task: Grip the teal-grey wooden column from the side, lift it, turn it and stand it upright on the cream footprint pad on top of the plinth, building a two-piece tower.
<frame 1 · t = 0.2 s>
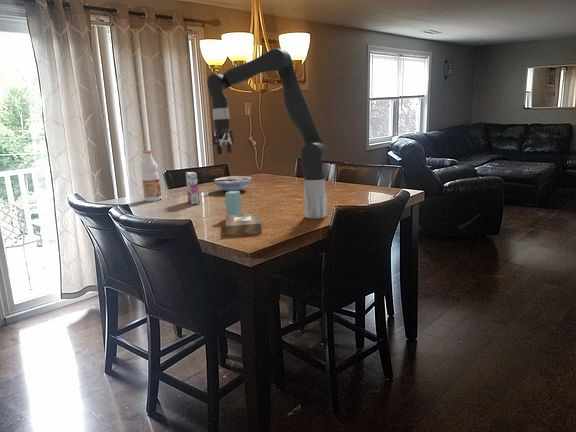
hand: (224, 153, 210), 28 cm above the table, tool pointing down, fingers open, 8 cm apart
ramen bowl: (233, 191, 272), on the table
fruit juice: (153, 200, 255), on the table
plinth: (243, 228, 186), on the table
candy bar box: (194, 203, 242), on the table
column: (234, 217, 205), on the table
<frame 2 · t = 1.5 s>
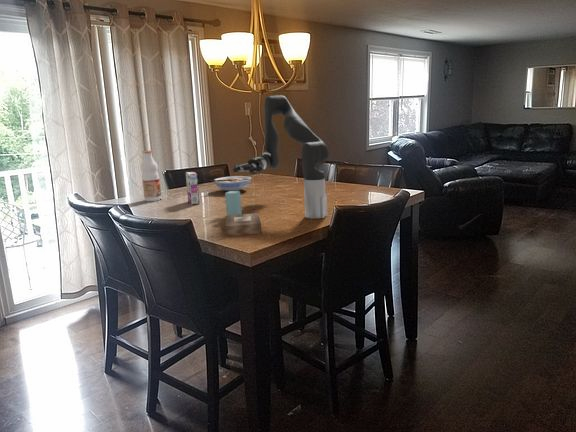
hand: (242, 170, 210), 20 cm above the table, tool horizontal, fingers open, 8 cm apart
nothing on the table moved.
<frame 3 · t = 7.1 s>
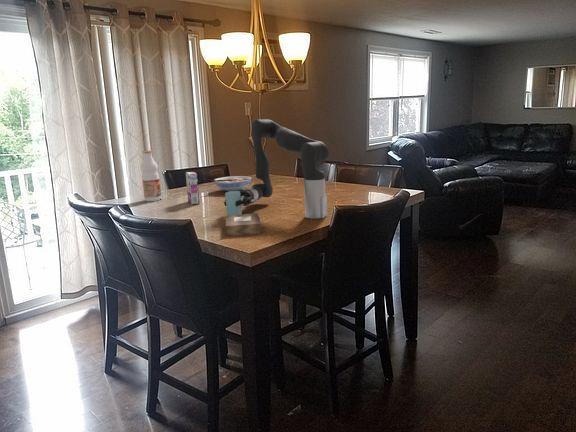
hand: (230, 204, 201), 7 cm above the table, tool horizontal, fingers closed on column, 5 cm apart
column: (234, 217, 205), on the table, touching gripper
everything else where it was.
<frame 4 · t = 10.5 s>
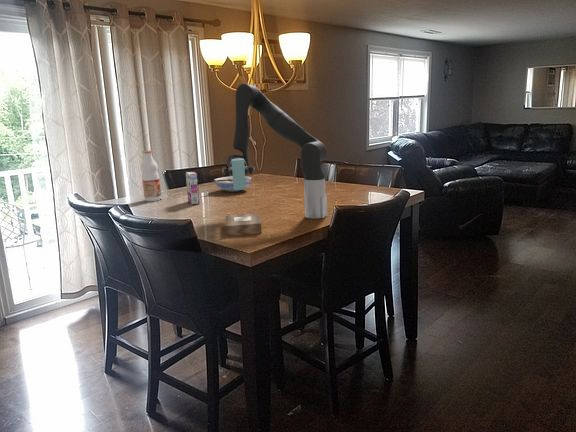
hand: (238, 172, 178), 24 cm above the table, tool horizontal, fingers closed on column, 5 cm apart
column: (239, 188, 182), point 17 cm above the table, touching gripper
everything else where it was.
when the fingers open (13 cm above the table, at t = 14.1 s): column drops 1 cm, resting on plinth.
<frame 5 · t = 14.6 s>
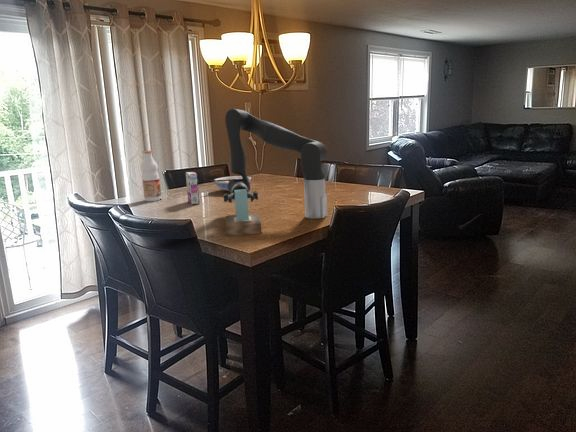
hand: (241, 199, 181), 13 cm above the table, tool horizontal, fingers open, 8 cm apart
column: (242, 218, 185), point 4 cm above the table, touching plinth
everything else where it was.
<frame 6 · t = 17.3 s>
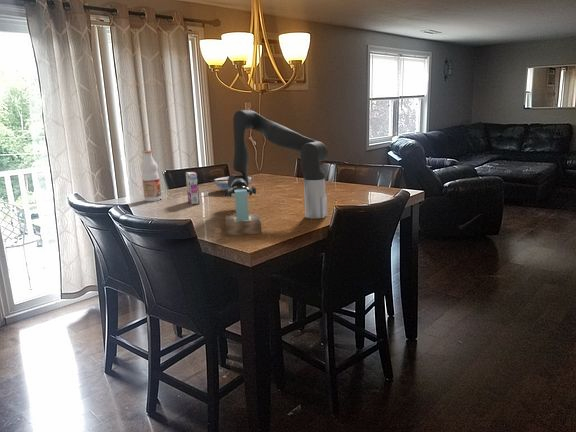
hand: (240, 193, 193), 13 cm above the table, tool horizontal, fingers open, 8 cm apart
nothing on the table moved.
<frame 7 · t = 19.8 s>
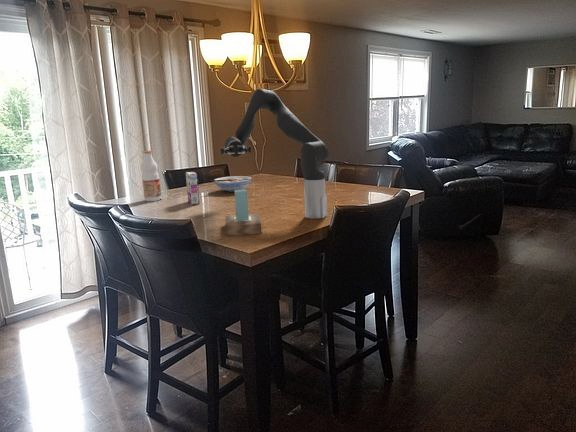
hand: (236, 151, 201), 30 cm above the table, tool horizontal, fingers open, 8 cm apart
nothing on the table moved.
at the end: column 0.1 cm off-centre on the plinth, point 4.2 cm above the plinth's base; column tilted 0°; the gripper is holding nothing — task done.
